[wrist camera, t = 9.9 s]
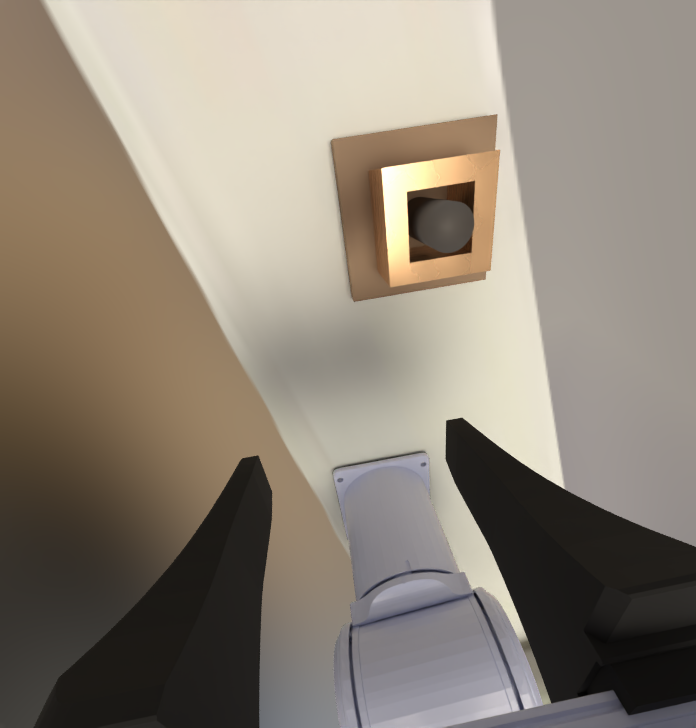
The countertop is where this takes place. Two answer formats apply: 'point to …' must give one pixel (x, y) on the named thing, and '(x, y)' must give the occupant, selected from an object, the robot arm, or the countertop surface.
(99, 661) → the robot arm
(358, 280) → the peg board
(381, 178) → the collar
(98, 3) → the countertop surface
